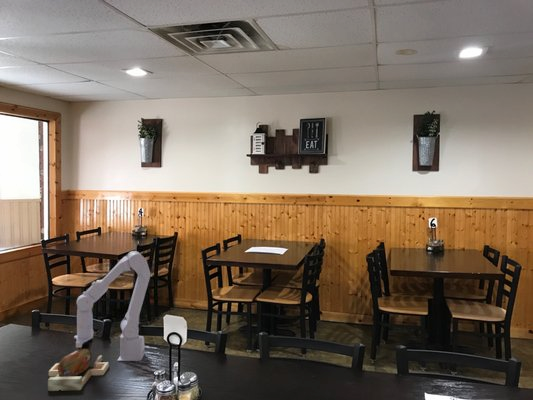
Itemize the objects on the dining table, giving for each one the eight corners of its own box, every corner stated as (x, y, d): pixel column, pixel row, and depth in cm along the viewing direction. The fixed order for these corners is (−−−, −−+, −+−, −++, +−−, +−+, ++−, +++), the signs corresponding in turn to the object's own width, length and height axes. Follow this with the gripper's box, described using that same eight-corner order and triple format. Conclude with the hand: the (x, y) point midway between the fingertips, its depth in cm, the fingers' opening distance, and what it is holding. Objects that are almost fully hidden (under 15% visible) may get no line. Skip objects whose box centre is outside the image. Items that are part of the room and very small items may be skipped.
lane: (102, 360, 177) (102, 350, 177) (80, 390, 152) (80, 378, 152) (74, 360, 177) (74, 350, 176) (47, 390, 151) (47, 379, 151)
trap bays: (108, 367, 171) (108, 362, 171) (103, 375, 164) (103, 369, 164) (56, 368, 169) (56, 363, 169) (48, 376, 162) (48, 371, 162)
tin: (63, 383, 157) (63, 360, 156) (56, 382, 158) (56, 359, 157) (92, 366, 171) (92, 345, 171) (85, 365, 172) (85, 344, 172)
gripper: (80, 319, 179) (81, 351, 180) (67, 331, 165) (67, 366, 165) (98, 319, 180) (98, 351, 180) (86, 331, 165) (86, 366, 166)
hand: (85, 358), depth 173 cm, fingers closed
